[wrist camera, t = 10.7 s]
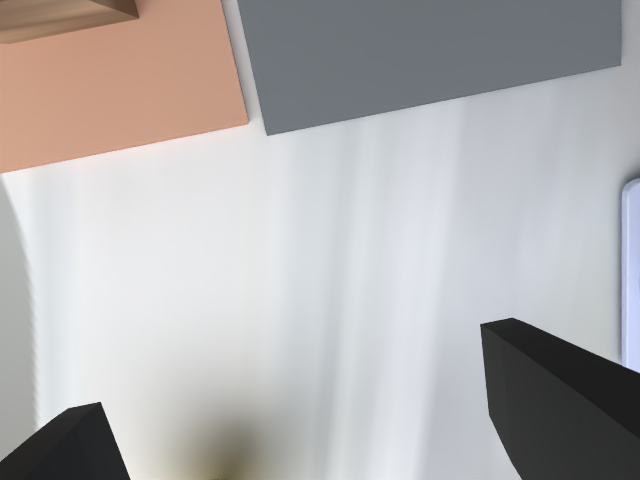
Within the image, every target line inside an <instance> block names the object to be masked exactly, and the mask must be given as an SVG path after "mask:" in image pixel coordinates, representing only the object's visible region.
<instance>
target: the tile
mask: <svg viewBox="0 0 640 480" xmlns="http://www.w3.org/2000/svg"><path fill="white" fill-rule="evenodd" d="M135 3H136V7H137V11H138V14H139V18H140V19H135V20H130V21H125V22H120V23H115V24H110V25H105V26H100V27H94V28H89V29H84V30H79V31H74V32H69V33H64V34H59V35H54V36H48V37H43V38H38V39H33V40H28V41H23V42H18V43H13V44H1V43H0V173H6V172H11V171H16V170H21V169H26V168H31V167H36V166H41V165H46V164H51V163H56V162H61V161H66V160H71V159H76V158H81V157H86V156H91V155H96V154H101V153H106V152H111V151H116V150H121V149H126V148H131V147H136V146H141V145H146V144H151V143H156V142H161V141H166V140H171V139H176V138H181V137H186V136H191V135H196V134H201V133H206V132H211V131H216V130H221V129H226V128H231V127H236V126H241V125H246V124H249V121H248V116H247V112H246V107H245V103H244V99H243V94H242V90H241V86H240V81H239V77H238V72H237V68H236V64H235V59H234V55H233V50H232V46H231V42H230V37H229V33H228V28H227V24H226V20H225V15H224V11H223V6H222V2H221V0H135Z"/></svg>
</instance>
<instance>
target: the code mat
mask: <svg viewBox="0 0 640 480" xmlns="http://www.w3.org/2000/svg"><path fill="white" fill-rule="evenodd" d="M237 1H238V5H239V10H240V14H241V19H242V23H243V28H244V33H245V37H246V42H247V46H248V51H249V56H250V60H251V65H252V69H253V74H254V78H255V83H256V88H257V92H258V97H259V101H260V106H261V111H262V115H263V120H264V124H265V129H266V133H267V136H269V135H274V134H279V133H284V132H289V131H294V130H299V129H305V128H310V127H315V126H320V125H325V124H330V123H335V122H340V121H345V120H350V119H355V118H360V117H365V116H370V115H375V114H380V113H385V112H390V111H395V110H400V109H405V108H410V107H415V106H420V105H425V104H430V103H435V102H440V101H445V100H450V99H455V98H460V97H465V96H470V95H475V94H480V93H485V92H490V91H495V90H500V89H505V88H510V87H515V86H520V85H525V84H530V83H535V82H540V81H545V80H550V79H555V78H560V77H565V76H570V75H575V74H580V73H585V72H590V71H595V70H600V69H605V68H610V67H615V66H620V65H621V0H237Z"/></svg>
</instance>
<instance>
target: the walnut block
mask: <svg viewBox="0 0 640 480" xmlns="http://www.w3.org/2000/svg"><path fill="white" fill-rule="evenodd" d="M135 19H140V18H139V14H138V11H137V7H136V3H135V0H0V43H1V44H13V43H18V42H23V41H28V40H33V39H38V38H43V37H48V36H54V35H59V34H64V33H69V32H74V31H79V30H84V29H89V28H94V27H100V26H105V25H110V24H115V23H120V22H125V21H130V20H135Z"/></svg>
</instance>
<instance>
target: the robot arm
mask: <svg viewBox="0 0 640 480" xmlns="http://www.w3.org/2000/svg"><path fill="white" fill-rule="evenodd" d="M480 327H481V337H482V347H483V357H484V368H485V378H486V388H487V398H488V409H489V416H490V418H491V420H492V422H493V424H494V427H495V429H496V431H497V433H498V435H499V437H500V440H501V442H502V444H503V446H504V448H505V450H506V452H507V454H508V456H509V458H510V460H511V462H512V464H513V466H514V467H515V469H516V470H517V472H518V474H519V475H520V477H521V479H522V480H640V178H638V179H634V180H632V181H630V182H629V183H627V184H626V185H625V187H624V189H623V192H622V365H623V366H622V365H619V364H617V363H614V362H612V361H610V360H607V359H605V358H603V357H600V356H598V355H596V354H594V353H591V352H589V351H587V350H585V349H582V348H580V347H578V346H576V345H574V344H571V343H569V342H567V341H565V340H563V339H560V338H558V337H556V336H554V335H552V334H550V333H547V332H545V331H543V330H541V329H539V328H536V327H534V326H532V325H530V324H527V323H525V322H522V321H520V320H517V319H515V318H508V319H503V320H498V321H493V322H489V323H484V324H480ZM0 480H130V477H129V474H128V472H127V469H126V467H125V464H124V461H123V459H122V456H121V454H120V451H119V448H118V446H117V443H116V441H115V438H114V435H113V433H112V430H111V428H110V425H109V422H108V420H107V417H106V415H105V412H104V409H103V407H102V404H101V402H97V403H92V404H87V405H82V406H78V407H73V408H68V409H67V410H65V411H64V412H62V413H61V414H59V415H58V416H56V417H55V418H54V419H52V420H51V421H50V422H48V423H47V424H46V425H45V426H43V427H42V428H41V429H40V430H38V431H37V432H36V433H35V434H33V435H32V436H31V437H30V438H28V439H27V440H26V441H25V442H24V443H22V444H21V445H20V446H19V447H17V448H16V449H15V450H14V451H13V452H12V453H10V454H9V455H8V456H7V457H5V458H4V459H3V460H2V461H1V462H0Z"/></svg>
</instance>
